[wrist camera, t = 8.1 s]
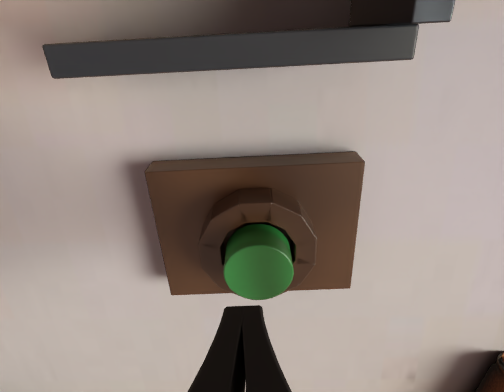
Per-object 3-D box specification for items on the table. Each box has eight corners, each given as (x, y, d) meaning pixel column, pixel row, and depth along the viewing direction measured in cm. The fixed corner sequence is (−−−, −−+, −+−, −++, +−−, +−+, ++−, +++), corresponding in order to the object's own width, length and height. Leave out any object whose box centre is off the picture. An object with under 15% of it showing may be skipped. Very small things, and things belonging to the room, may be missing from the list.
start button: (228, 276, 19) (226, 302, 17) (223, 224, 17) (220, 247, 16) (289, 273, 19) (293, 299, 17) (289, 221, 17) (294, 243, 16)
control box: (176, 278, 23) (164, 316, 20) (152, 160, 19) (133, 186, 16) (343, 271, 23) (358, 309, 20) (356, 151, 19) (376, 175, 16)
